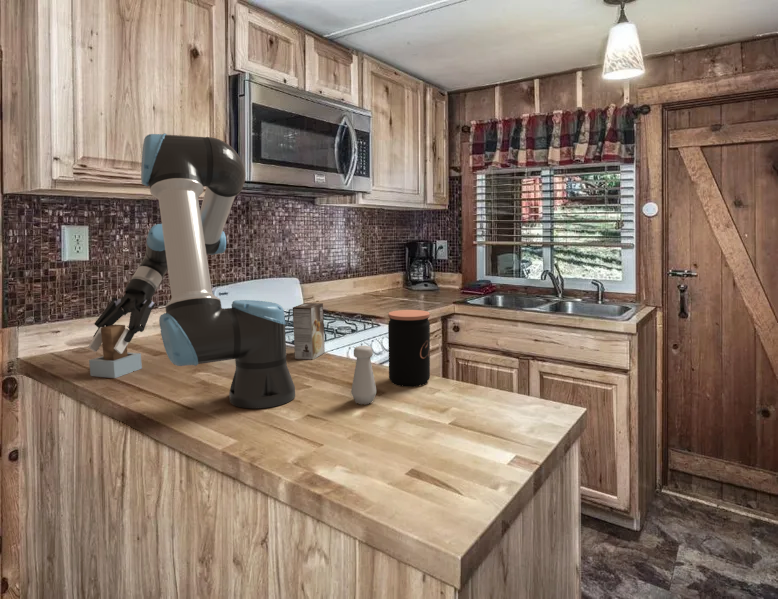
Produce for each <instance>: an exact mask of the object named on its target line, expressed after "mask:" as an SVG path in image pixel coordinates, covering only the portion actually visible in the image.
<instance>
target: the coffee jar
mask: <svg viewBox="0 0 778 599" xmlns="http://www.w3.org/2000/svg"><path fill="white" fill-rule="evenodd" d="M387 315H388V318H389V321H388V325H387V326H388V327H387V330H388V335H387V336H388V338H387V339H388V340H387V341H388V378H389V380H390V382H391V383H392V385H395V386H399V387H406V388H413V387H414V386H415V387H420V386H419V385H421V386H424V385H426V384H427V383H428V381H429V380H430V377H431V334H430V333H431V332H430V331H431V323H430V320H429V318H430V317H431V316H430V315H431V314H430V312H429V311H426V310H420V309H399V310H398V309H397V310H392V311H389V312H388V314H387ZM423 384H424V385H423Z"/></svg>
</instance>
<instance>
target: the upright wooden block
mask: <svg viewBox="0 0 778 599" xmlns="http://www.w3.org/2000/svg"><path fill="white" fill-rule="evenodd" d="M125 329H126V325H125V324H113V325H111V326H107V327H103V328H101V335H102V344H101V346H102V356H103V357H104V360H112V361H114V360H117V359H120V358H123V357H127V356H128V354H127V352H128V345H127V346H126V348H125V349H124V351H123V353H122V354H120V353H118V352H117V351H116V350H115V349H114V347H115V345H116V344H117V342H118V340H119V338H120V337H121V335H122V333H123V332H124V330H125Z"/></svg>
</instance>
